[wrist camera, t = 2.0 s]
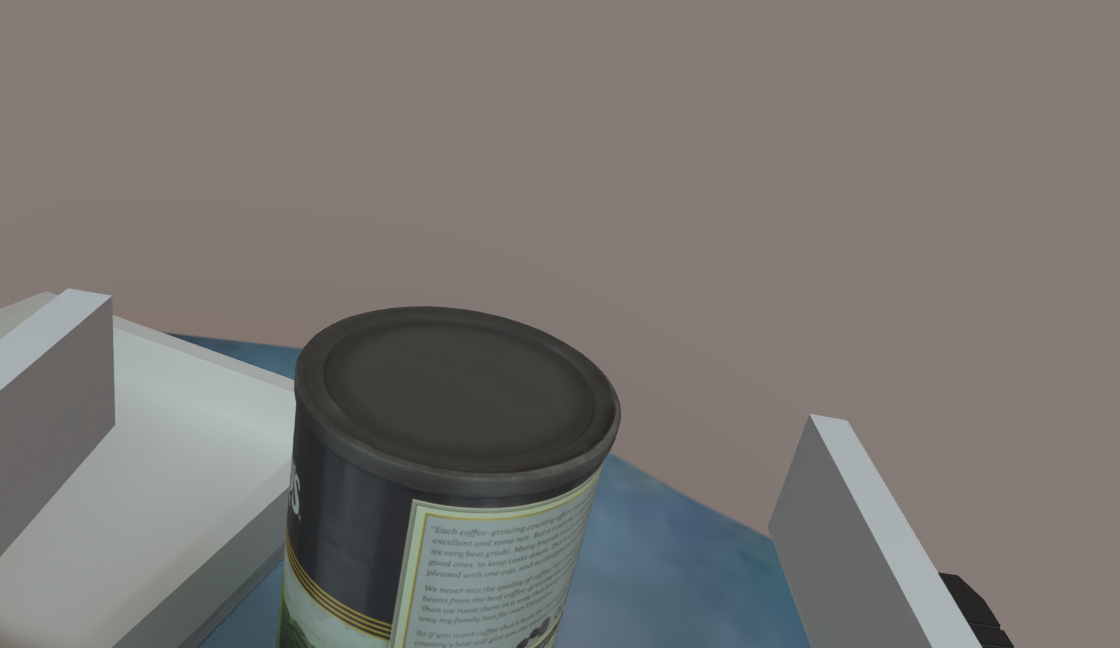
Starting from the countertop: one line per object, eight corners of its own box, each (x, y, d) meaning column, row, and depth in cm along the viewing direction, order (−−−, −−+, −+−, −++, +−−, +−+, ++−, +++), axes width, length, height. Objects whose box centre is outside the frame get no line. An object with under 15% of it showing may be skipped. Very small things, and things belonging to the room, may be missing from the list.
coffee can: (214, 770, 29) (231, 417, 23) (331, 567, 38) (364, 280, 32) (512, 851, 28) (607, 513, 22) (556, 626, 38) (631, 346, 32)
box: (-413, 571, 31) (-447, 481, 29) (49, 355, 48) (46, 290, 47) (47, 801, 27) (40, 712, 25) (365, 473, 44) (374, 408, 43)
